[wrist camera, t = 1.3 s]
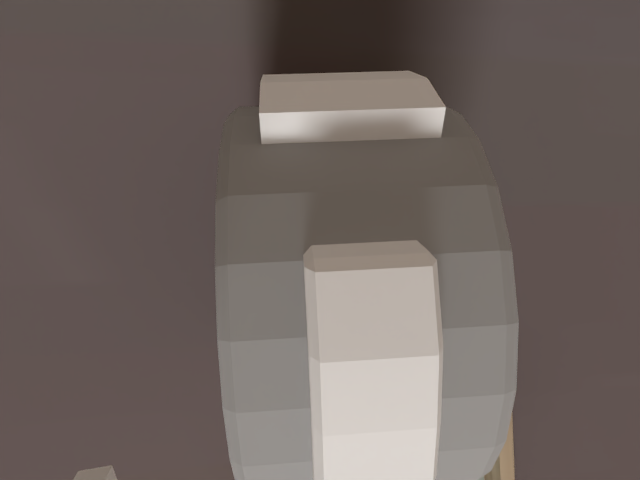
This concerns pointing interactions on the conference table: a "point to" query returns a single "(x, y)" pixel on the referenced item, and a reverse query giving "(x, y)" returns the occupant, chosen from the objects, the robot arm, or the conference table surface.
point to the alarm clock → (361, 284)
